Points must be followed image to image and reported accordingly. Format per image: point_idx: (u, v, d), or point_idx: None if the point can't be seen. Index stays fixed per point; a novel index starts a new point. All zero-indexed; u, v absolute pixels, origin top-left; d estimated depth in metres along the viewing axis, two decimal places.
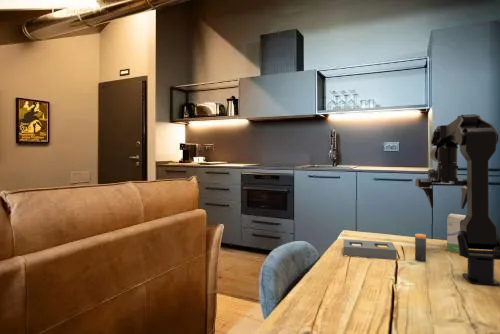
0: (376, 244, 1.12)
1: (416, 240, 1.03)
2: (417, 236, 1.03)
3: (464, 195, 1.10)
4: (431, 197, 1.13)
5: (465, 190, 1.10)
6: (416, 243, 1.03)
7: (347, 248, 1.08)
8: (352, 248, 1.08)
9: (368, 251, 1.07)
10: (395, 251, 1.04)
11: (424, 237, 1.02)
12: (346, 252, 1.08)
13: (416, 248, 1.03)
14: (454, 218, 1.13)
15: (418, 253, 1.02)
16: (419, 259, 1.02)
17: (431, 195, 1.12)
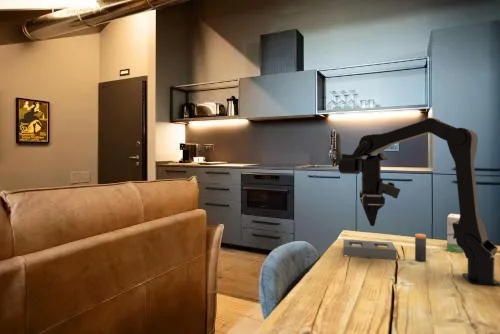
0: (376, 244, 1.12)
1: (416, 240, 1.03)
2: (417, 236, 1.03)
3: None
4: (363, 208, 1.12)
5: None
6: (416, 243, 1.03)
7: (347, 248, 1.08)
8: (352, 248, 1.08)
9: (368, 251, 1.07)
10: (395, 251, 1.04)
11: (424, 237, 1.02)
12: (346, 252, 1.08)
13: (416, 248, 1.03)
14: (454, 218, 1.13)
15: (418, 253, 1.02)
16: (419, 259, 1.02)
17: None
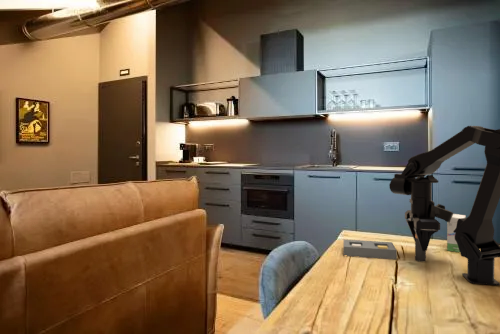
0: (376, 244, 1.12)
1: (416, 240, 1.03)
2: None
3: None
4: (410, 230, 1.09)
5: None
6: (416, 243, 1.03)
7: (347, 248, 1.08)
8: (352, 248, 1.08)
9: (368, 251, 1.07)
10: (395, 251, 1.04)
11: None
12: (346, 252, 1.08)
13: (416, 248, 1.03)
14: (454, 218, 1.13)
15: (418, 253, 1.02)
16: (419, 259, 1.02)
17: (409, 228, 1.09)
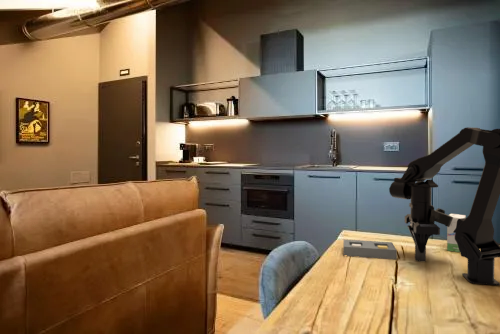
0: (376, 244, 1.12)
1: None
2: None
3: None
4: (412, 237, 1.06)
5: None
6: None
7: (347, 248, 1.08)
8: (352, 248, 1.08)
9: (368, 251, 1.07)
10: (395, 251, 1.04)
11: None
12: (346, 252, 1.08)
13: (416, 248, 1.03)
14: (454, 218, 1.13)
15: (418, 253, 1.02)
16: (419, 259, 1.02)
17: (411, 234, 1.06)
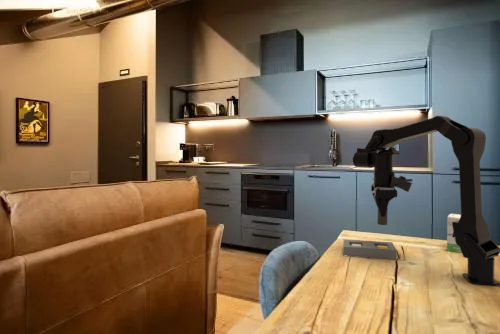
0: (376, 244, 1.12)
1: None
2: None
3: None
4: None
5: None
6: None
7: (347, 248, 1.08)
8: (352, 248, 1.08)
9: (368, 251, 1.07)
10: (395, 251, 1.04)
11: None
12: (346, 252, 1.08)
13: (378, 213, 1.09)
14: (454, 218, 1.13)
15: (380, 217, 1.09)
16: (381, 222, 1.09)
17: None
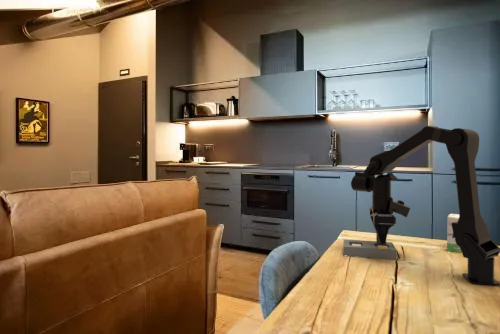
0: None
1: None
2: None
3: None
4: None
5: None
6: (377, 236, 1.10)
7: (347, 248, 1.08)
8: (352, 248, 1.08)
9: (368, 251, 1.07)
10: (395, 251, 1.04)
11: None
12: (346, 252, 1.08)
13: (377, 241, 1.10)
14: (454, 218, 1.13)
15: None
16: None
17: None
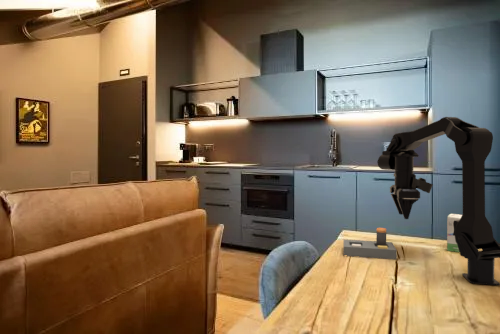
0: None
1: (377, 234, 1.10)
2: (378, 230, 1.09)
3: None
4: None
5: None
6: (377, 236, 1.10)
7: (347, 248, 1.08)
8: (352, 248, 1.08)
9: (368, 251, 1.07)
10: (395, 251, 1.04)
11: (384, 231, 1.09)
12: (346, 252, 1.08)
13: (377, 241, 1.10)
14: (454, 218, 1.13)
15: None
16: None
17: (394, 200, 1.18)
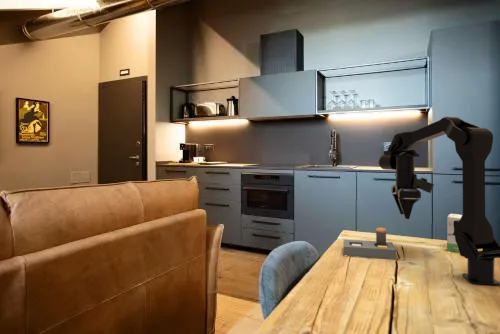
0: None
1: (377, 233, 1.10)
2: (377, 230, 1.09)
3: None
4: (396, 203, 1.18)
5: None
6: (377, 236, 1.10)
7: (347, 248, 1.08)
8: (352, 248, 1.08)
9: (368, 251, 1.07)
10: (395, 251, 1.04)
11: (384, 231, 1.09)
12: (346, 252, 1.08)
13: (377, 241, 1.10)
14: (454, 218, 1.13)
15: None
16: None
17: (395, 200, 1.18)
